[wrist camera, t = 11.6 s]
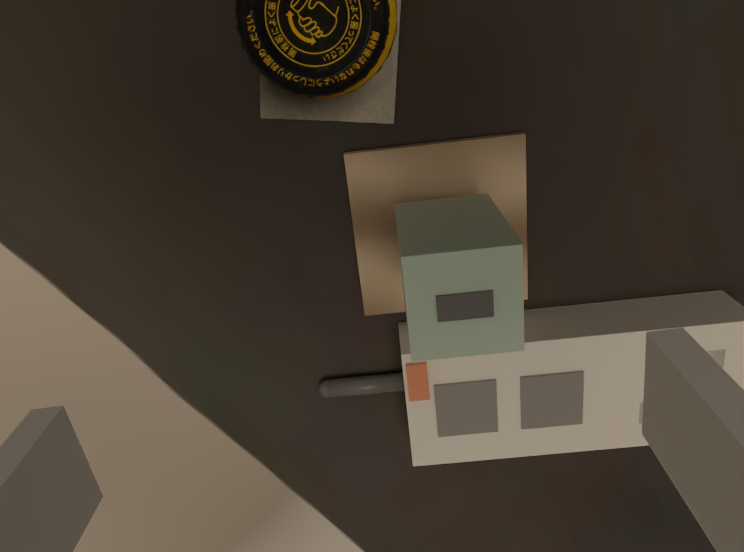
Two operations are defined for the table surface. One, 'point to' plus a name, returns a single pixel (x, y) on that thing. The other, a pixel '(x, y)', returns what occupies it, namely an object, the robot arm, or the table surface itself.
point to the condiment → (323, 57)
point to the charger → (460, 278)
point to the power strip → (550, 380)
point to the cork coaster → (427, 182)
